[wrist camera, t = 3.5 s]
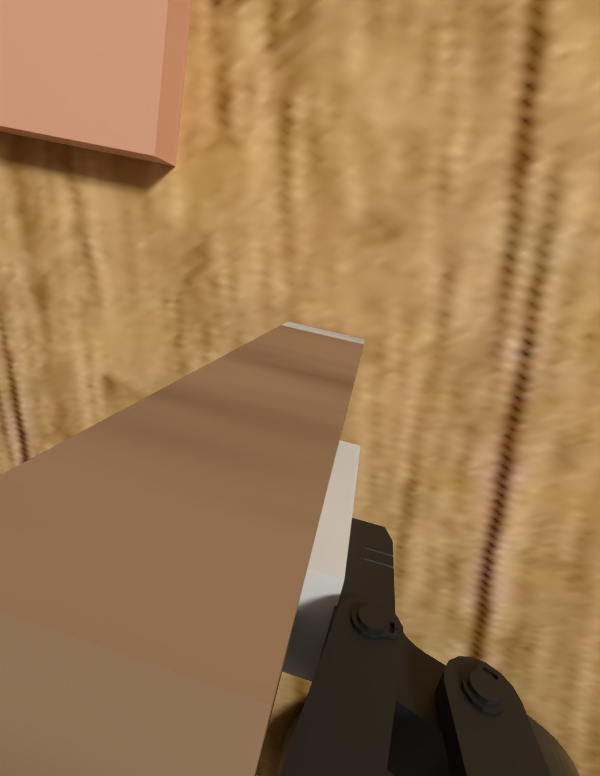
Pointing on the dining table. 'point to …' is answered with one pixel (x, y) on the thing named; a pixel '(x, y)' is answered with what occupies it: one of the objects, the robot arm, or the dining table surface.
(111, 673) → the walnut block
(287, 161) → the dining table surface
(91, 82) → the terracotta tile
